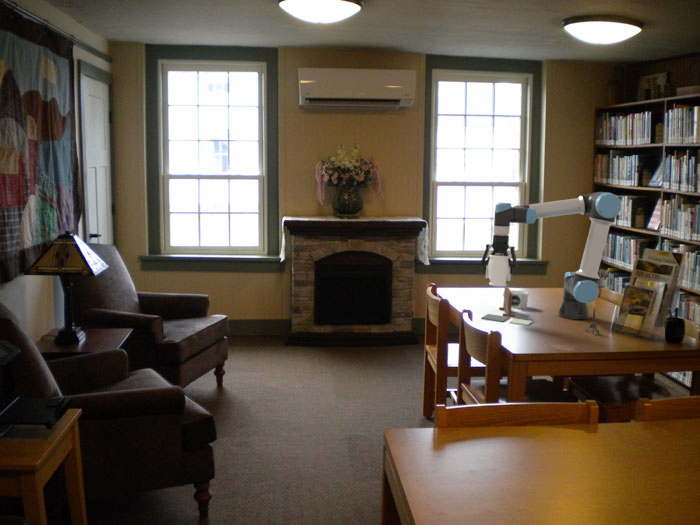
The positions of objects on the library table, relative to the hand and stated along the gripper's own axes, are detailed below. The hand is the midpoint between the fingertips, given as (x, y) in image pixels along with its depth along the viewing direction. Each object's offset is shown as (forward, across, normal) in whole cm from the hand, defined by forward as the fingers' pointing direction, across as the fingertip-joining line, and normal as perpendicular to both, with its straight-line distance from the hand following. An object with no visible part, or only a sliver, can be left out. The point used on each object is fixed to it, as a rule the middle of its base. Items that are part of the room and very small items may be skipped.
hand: (497, 279), depth 349 cm
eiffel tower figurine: (+20, -46, +2) cm, 51 cm away
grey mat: (+20, 0, 0) cm, 20 cm away
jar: (+3, 0, 0) cm, 3 cm away
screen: (+20, -1, -17) cm, 26 cm away
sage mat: (+20, -13, +1) cm, 24 cm away
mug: (+20, 0, -36) cm, 41 cm away
